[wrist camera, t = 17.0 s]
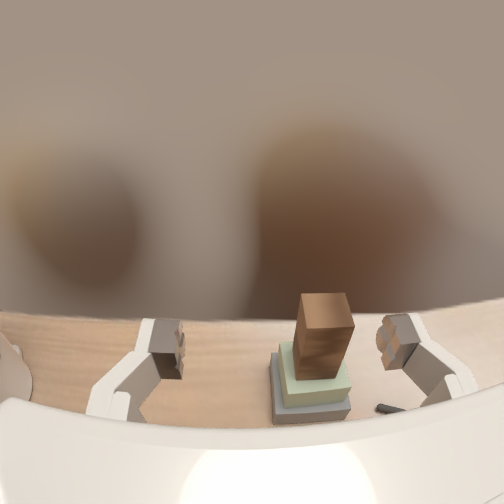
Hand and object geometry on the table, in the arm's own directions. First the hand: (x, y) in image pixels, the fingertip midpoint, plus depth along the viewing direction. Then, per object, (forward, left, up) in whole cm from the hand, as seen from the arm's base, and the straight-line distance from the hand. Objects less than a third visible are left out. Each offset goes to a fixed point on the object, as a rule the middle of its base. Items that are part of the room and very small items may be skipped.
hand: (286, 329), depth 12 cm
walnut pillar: (+8, +14, -24) cm, 29 cm away
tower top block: (+8, +14, -28) cm, 33 cm away
